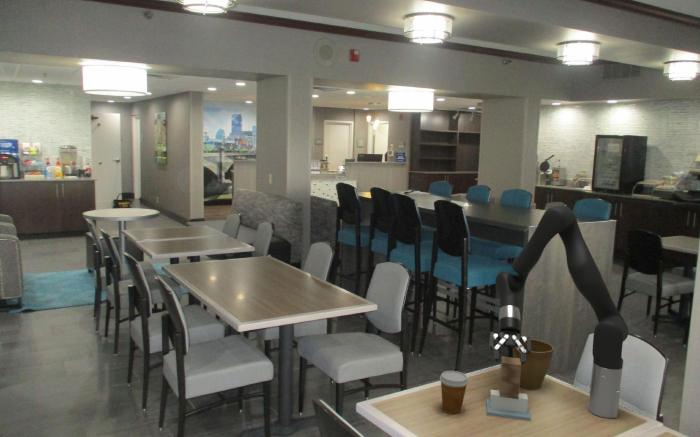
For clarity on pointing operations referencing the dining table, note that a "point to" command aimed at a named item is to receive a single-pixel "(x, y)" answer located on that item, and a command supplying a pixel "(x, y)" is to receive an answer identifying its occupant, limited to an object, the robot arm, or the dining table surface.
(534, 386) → the plant pot
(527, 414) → the butter dish
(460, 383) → the disposable coffee cup
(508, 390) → the post
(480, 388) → the dining table surface
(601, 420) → the dining table surface
